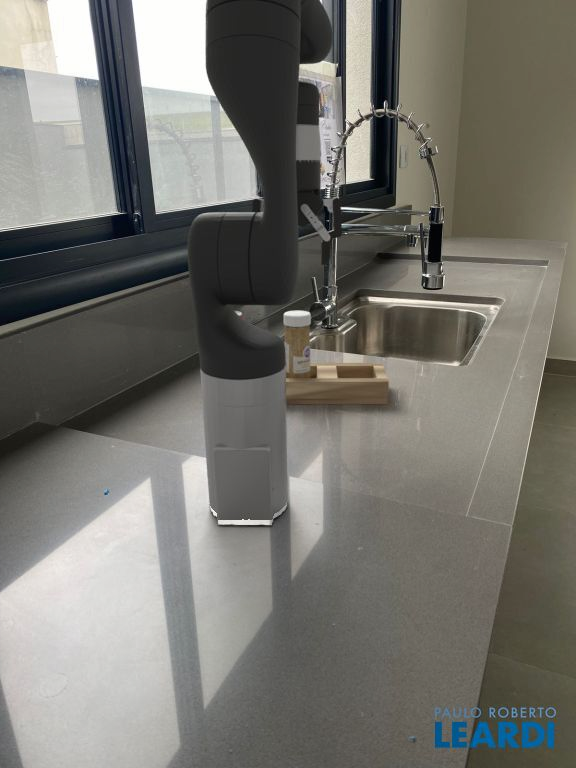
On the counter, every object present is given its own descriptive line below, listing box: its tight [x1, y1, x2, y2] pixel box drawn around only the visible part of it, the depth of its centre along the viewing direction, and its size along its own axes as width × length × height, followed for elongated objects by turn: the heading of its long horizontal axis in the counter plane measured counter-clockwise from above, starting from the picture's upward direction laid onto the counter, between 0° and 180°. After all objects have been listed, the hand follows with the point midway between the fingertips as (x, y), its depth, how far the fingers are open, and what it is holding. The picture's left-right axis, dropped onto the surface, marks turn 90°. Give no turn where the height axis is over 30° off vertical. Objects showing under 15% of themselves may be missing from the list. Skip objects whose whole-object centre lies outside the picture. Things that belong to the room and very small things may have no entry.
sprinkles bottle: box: [283, 310, 312, 378], centre depth 103 cm, size 5×5×14 cm
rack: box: [286, 362, 390, 405], centre depth 105 cm, size 10×20×4 cm, turn 88°
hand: (297, 264), depth 98 cm, fingers open, 8 cm apart
